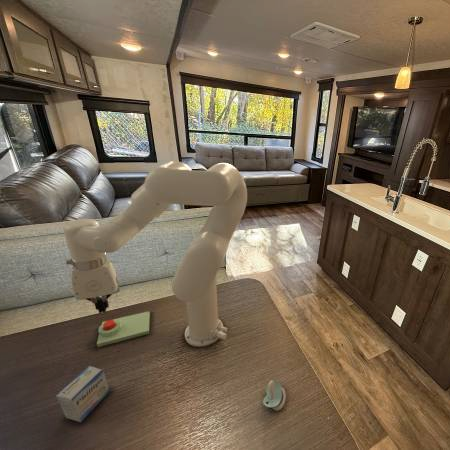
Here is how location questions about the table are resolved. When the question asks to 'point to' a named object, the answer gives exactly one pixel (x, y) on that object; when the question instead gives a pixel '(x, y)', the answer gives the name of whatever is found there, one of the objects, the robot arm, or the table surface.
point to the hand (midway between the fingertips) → (103, 309)
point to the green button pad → (125, 329)
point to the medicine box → (83, 394)
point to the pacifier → (274, 395)
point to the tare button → (109, 325)
